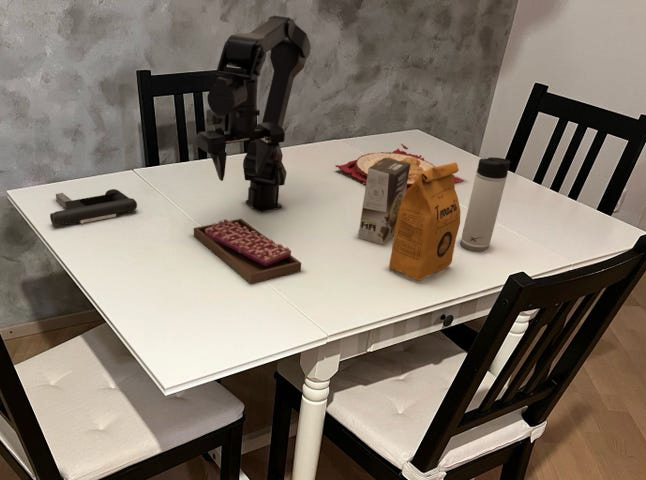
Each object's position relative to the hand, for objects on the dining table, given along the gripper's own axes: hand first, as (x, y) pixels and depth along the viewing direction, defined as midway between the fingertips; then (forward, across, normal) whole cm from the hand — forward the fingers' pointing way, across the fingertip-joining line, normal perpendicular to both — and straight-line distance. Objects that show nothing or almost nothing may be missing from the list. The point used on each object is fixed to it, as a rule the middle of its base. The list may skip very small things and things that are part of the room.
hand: (239, 176), depth 160 cm
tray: (+12, +5, +12) cm, 17 cm away
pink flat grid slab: (+10, +5, +12) cm, 16 cm away
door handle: (+12, +26, -23) cm, 37 cm away
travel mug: (+12, -43, +31) cm, 54 cm away
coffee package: (+12, -24, +34) cm, 43 cm away
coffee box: (+12, -27, +17) cm, 34 cm away
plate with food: (+12, -56, -10) cm, 58 cm away
